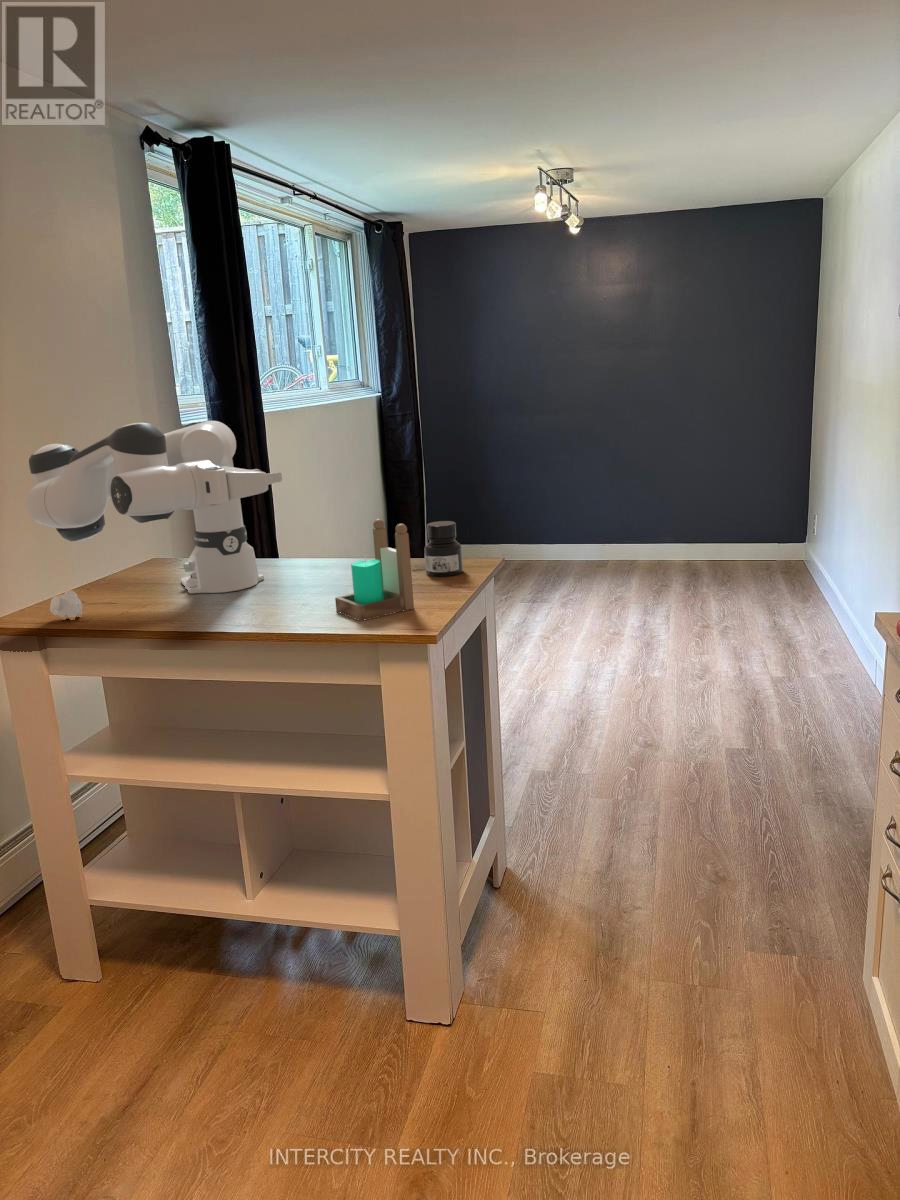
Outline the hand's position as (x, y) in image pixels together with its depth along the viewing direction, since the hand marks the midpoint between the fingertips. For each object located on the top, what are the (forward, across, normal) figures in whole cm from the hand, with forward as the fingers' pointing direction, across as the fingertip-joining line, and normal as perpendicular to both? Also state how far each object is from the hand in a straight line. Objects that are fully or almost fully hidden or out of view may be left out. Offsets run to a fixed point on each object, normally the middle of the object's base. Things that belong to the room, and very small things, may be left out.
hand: (270, 474), depth 184 cm
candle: (+16, +7, -30) cm, 35 cm away
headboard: (+22, +6, -30) cm, 38 cm away
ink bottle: (+46, -10, -30) cm, 56 cm away
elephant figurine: (-34, -39, -30) cm, 60 cm away
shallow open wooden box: (+16, +6, -30) cm, 35 cm away
